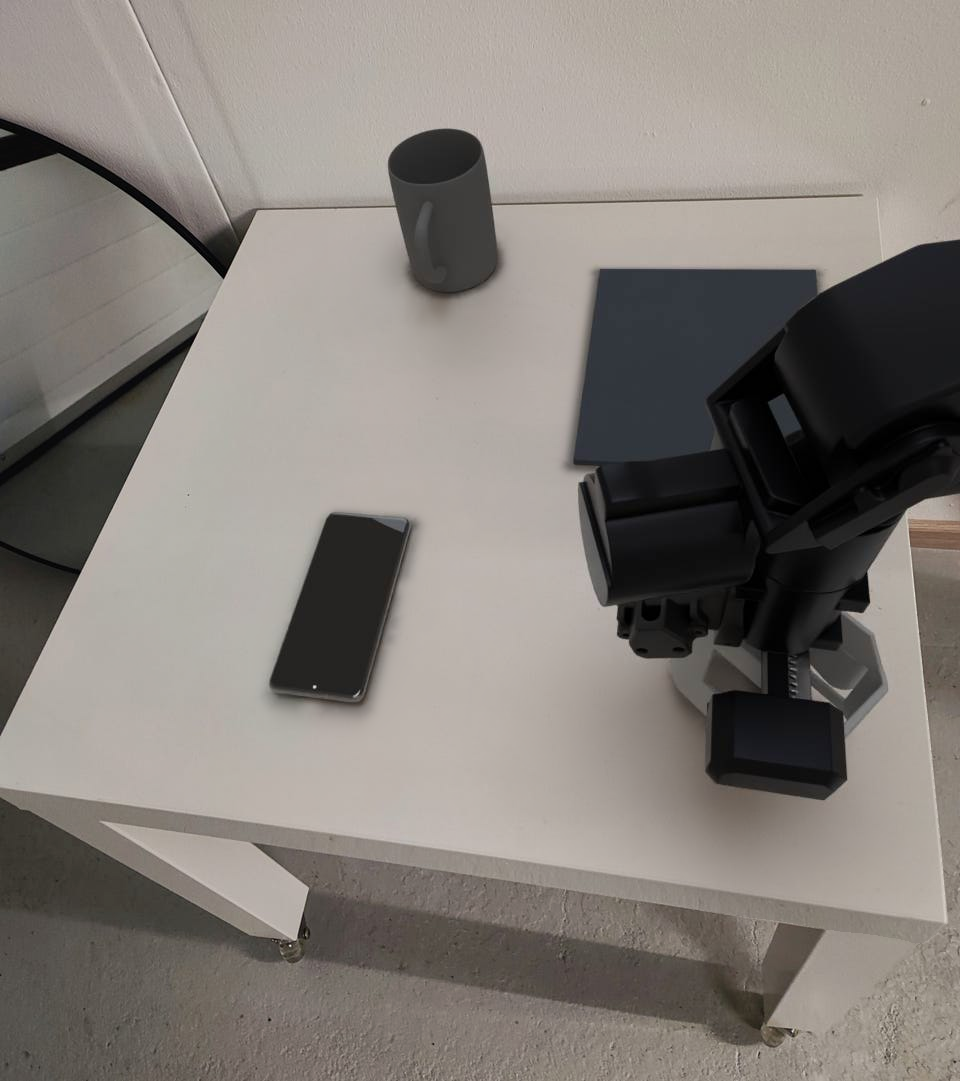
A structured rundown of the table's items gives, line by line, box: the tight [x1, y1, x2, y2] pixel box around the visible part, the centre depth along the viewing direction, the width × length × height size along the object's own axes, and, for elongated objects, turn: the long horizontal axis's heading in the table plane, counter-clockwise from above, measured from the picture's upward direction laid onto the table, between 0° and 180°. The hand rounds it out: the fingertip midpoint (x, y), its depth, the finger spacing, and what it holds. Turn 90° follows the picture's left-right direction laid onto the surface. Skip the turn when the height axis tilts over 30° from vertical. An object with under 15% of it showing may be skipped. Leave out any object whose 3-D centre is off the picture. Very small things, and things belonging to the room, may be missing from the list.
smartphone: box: [268, 511, 412, 703], centre depth 62 cm, size 7×1×16 cm
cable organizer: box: [669, 611, 889, 739], centre depth 49 cm, size 7×12×12 cm, turn 40°
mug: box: [387, 127, 498, 293], centre depth 77 cm, size 14×9×12 cm
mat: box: [573, 268, 818, 466], centre depth 71 cm, size 20×24×1 cm
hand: (741, 675), depth 50 cm, fingers open, 8 cm apart
